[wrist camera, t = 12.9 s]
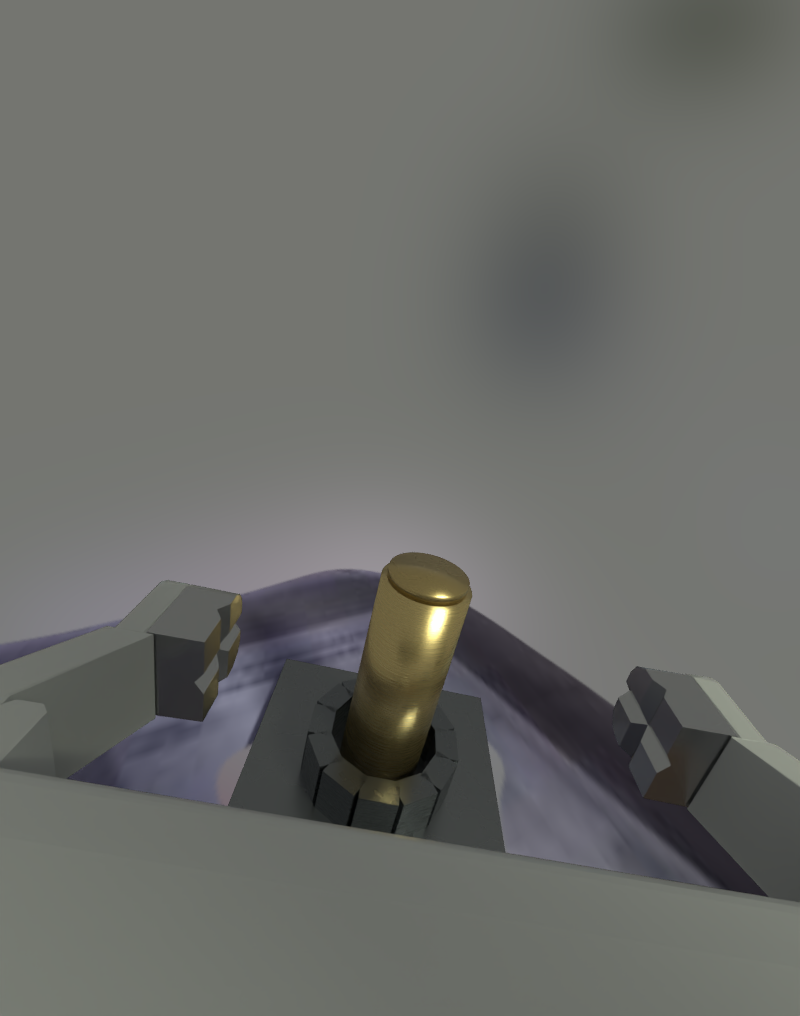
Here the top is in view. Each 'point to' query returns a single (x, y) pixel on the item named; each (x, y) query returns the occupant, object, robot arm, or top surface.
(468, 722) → the square socket base
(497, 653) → the top surface
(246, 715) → the top surface
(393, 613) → the cylinder
